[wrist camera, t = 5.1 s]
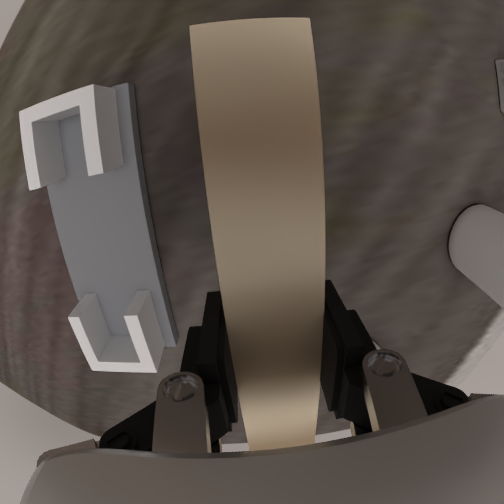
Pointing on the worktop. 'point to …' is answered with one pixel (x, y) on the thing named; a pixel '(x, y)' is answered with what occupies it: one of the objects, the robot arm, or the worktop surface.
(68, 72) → the worktop surface
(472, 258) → the milk bottle
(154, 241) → the grey holder stand
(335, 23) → the worktop surface
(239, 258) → the slat
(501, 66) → the coffee box
